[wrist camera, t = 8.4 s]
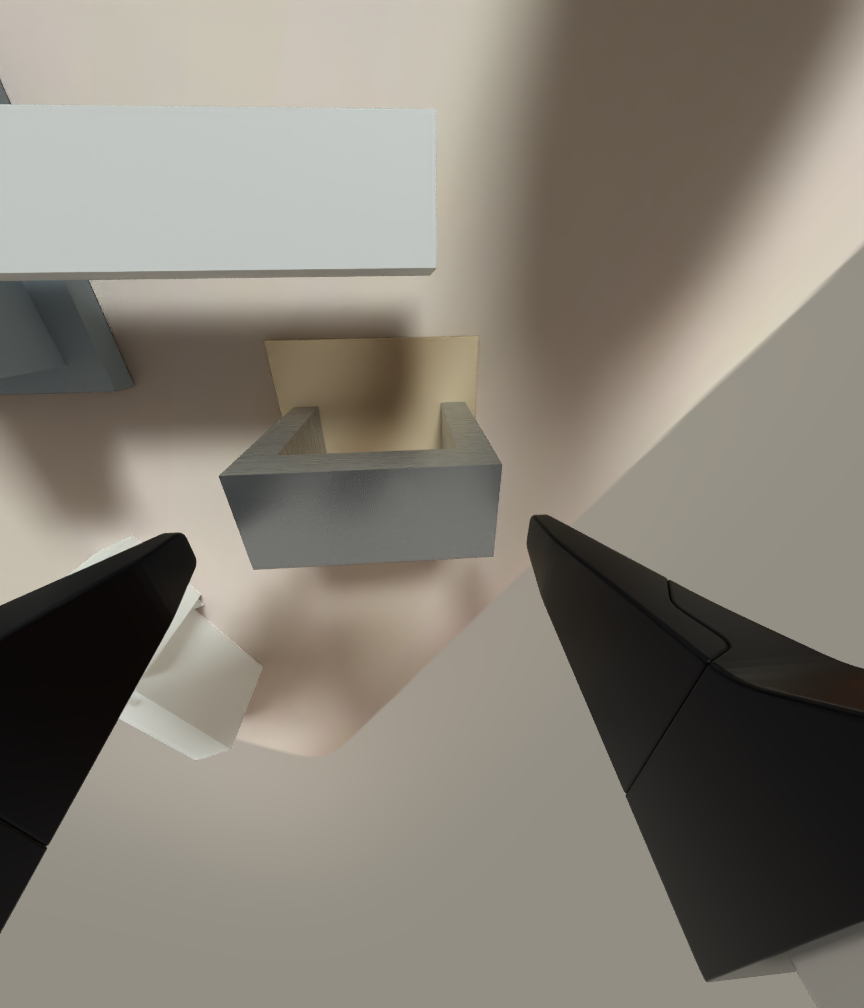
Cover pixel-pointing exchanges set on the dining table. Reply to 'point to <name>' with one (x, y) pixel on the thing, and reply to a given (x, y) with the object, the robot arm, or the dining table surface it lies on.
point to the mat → (376, 387)
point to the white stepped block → (190, 680)
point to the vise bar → (192, 213)
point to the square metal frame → (364, 496)
